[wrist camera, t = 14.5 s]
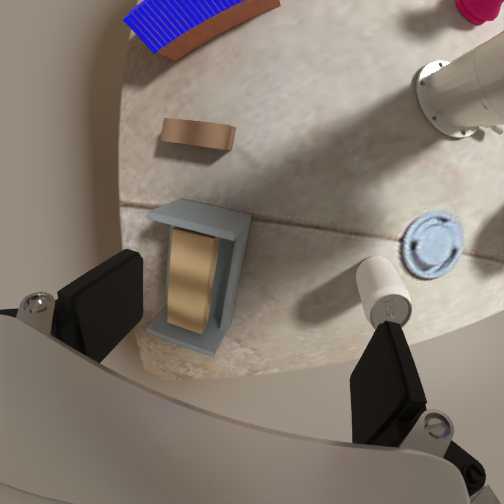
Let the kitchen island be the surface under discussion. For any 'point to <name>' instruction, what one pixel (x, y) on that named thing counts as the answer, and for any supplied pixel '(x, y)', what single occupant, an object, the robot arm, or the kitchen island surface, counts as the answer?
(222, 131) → the block
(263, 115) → the kitchen island surface
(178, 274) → the board
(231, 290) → the bed
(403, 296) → the can
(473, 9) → the pepper mill
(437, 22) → the kitchen island surface
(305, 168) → the kitchen island surface
